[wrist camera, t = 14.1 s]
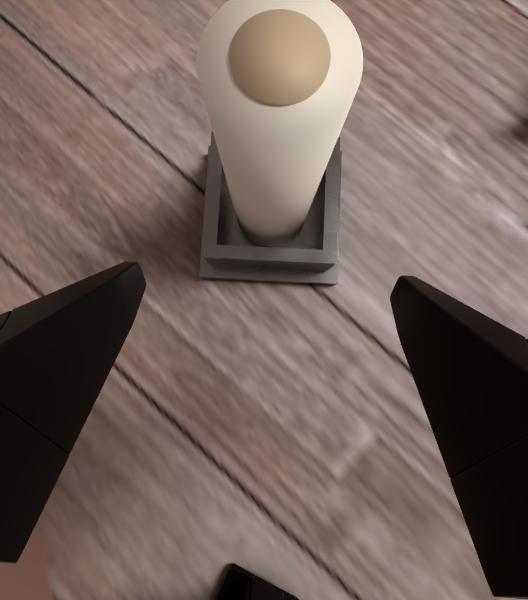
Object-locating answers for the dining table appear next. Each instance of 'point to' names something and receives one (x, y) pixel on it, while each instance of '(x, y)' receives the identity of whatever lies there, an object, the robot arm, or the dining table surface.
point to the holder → (280, 259)
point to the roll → (277, 104)
